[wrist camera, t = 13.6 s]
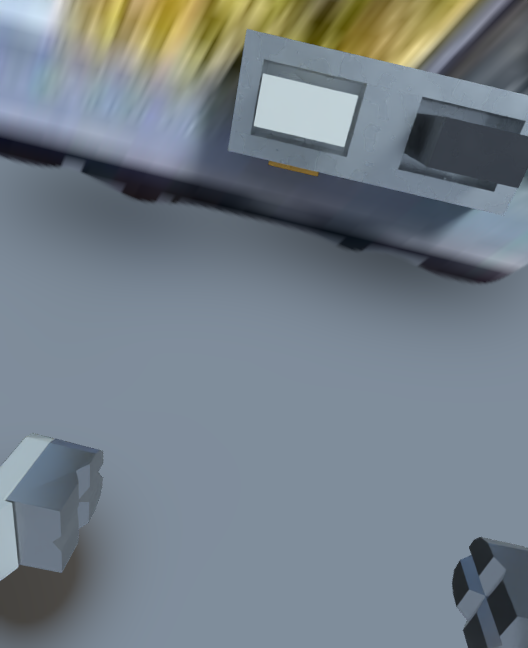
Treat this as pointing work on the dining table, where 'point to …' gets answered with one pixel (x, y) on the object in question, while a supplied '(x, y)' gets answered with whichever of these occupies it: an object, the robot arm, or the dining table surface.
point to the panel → (304, 110)
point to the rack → (391, 125)
